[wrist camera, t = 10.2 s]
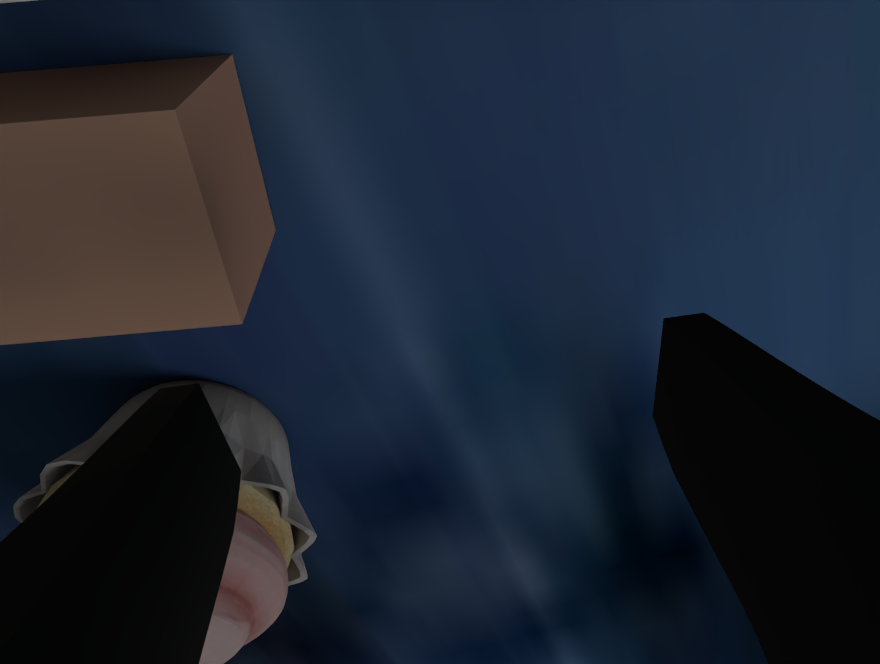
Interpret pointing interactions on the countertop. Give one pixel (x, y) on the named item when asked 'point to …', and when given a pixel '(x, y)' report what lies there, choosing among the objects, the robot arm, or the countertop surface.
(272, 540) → the cupcake
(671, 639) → the countertop surface
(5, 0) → the block
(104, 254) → the tan cardboard brick
